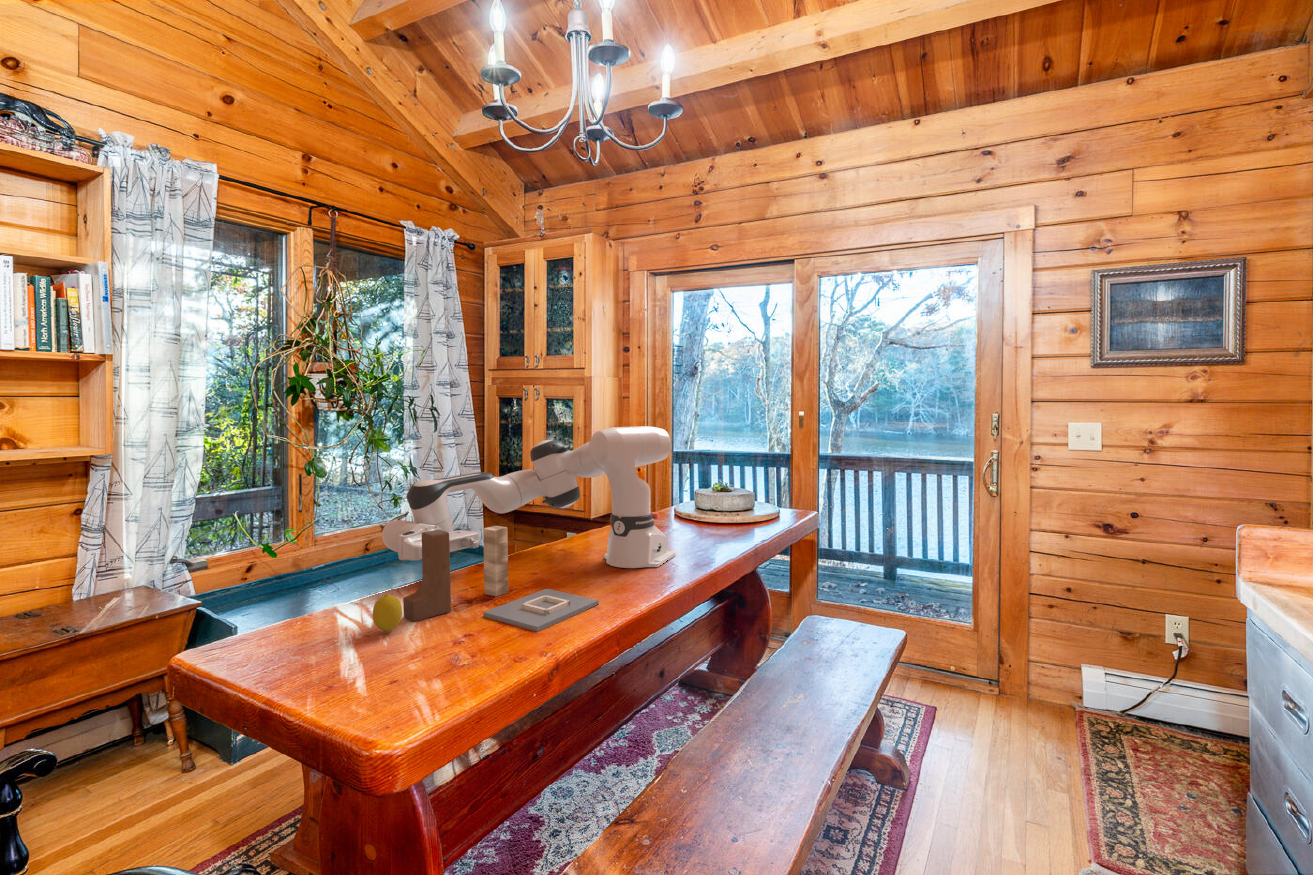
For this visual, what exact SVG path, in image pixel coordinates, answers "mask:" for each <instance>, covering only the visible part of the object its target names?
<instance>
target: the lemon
mask: <svg viewBox="0 0 1313 875" xmlns="http://www.w3.org/2000/svg"><path fill="white" fill-rule="evenodd" d="M402 617H403V607H402V604H401V601H400V600H399V599H398V598H397V597H396V596H394V595H392V594H389V593H385V594H383V596H381V597H379V598H378V599H377V600H376V601H375V602H374V605H373V609H372V621H373V623H374V625H375V627H376V628H378V629H379V630H382V631H384V632H385V633H387V634H388V633H390V632H391V631H392V630H394V629H395V628H396V627H398V625H399V624H400V622H402V621H401V620H402V619H403V618H402Z"/></svg>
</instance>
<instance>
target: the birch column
mask: <svg viewBox="0 0 1313 875" xmlns="http://www.w3.org/2000/svg"><path fill="white" fill-rule="evenodd" d="M508 534H509V533H508V527H507V526H500V525H492V526H489V527H483V575H484V576H483V577H484V578H483V581H484V582H483V584H484V585H483V586H484V588H483V589H484V590H483V591H484V595H488V596H492V597H500V596H502V595H504V594H508V593H509V546H508V544H509V542H508V540H509V538H508Z"/></svg>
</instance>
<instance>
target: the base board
mask: <svg viewBox="0 0 1313 875" xmlns="http://www.w3.org/2000/svg"><path fill="white" fill-rule="evenodd" d="M599 603H600V602H599V599H595V598H594V599H593V598H590V597H585V596H581V595H577V594H572V593H567V592H563V591H559V590H555V589H550V588H544V589H542V590H539V591H537V592H533V593H531V594H528V595H526V596H523V597H520V598H517V599H514V600H512V601H509V602H507V603H504V604H501V605H498V606H496V607H493V608H491V609H488V610H486V611H483V612H482V614H483V617H484V618H488V619H490V620H495V621H499V622H501V623H505V624H509V625H512V626H516V627H519V628H523V629H526V630H530V631H533V632H536V633H537V632H539V631H542V630H544V629H547V628H549V627H551V626H554V625H556V624H559V623H560V622H563V621H564V620H567V619H569V618H571V617H574V616H576V615H579V614H581V613H582V612H585V611H588V610H590V609H592V608H594V607H596V606H595V605H597V604H599ZM593 606H594V607H593ZM597 606H598V605H597ZM591 607H592V608H591ZM589 608H590V609H589ZM587 609H588V610H587Z"/></svg>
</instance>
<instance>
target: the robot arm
mask: <svg viewBox="0 0 1313 875" xmlns="http://www.w3.org/2000/svg"><path fill="white" fill-rule="evenodd" d="M671 441H672V440H671V436H670V434H669V433H668V432H667V431H666V430H665V429H664V428H662V427H661V428H660V427H656V426H651V425H650V426H649V425H643V426H641V425H639V426H616V427H615V426H613V427H608V428H603V429H599V430H597V431H595V432H594V433H593V434H592V435H591V437H590V439H589V441H587V442H586V443H584V444H582V445H580V446H578V447H576V448H575V449H573V450H570V449H568V448H569V447H570V446H569V445H568V444H564V443H563V442H561V441H560V440H557V439H546V440H545V439H544V440H542V441H540V442H538V443H536V444H535V445H534V446H533V447H532V448H531V449H530V451H529V456H530V460H531V461H530V462H532V465H533V469H534V470H533V469H528V468H526V469H522V470H518V471H513V472H510V473H507V474H505V475H502V476H494V475H493V473H491V472H485V471H482V472H480V471H479V472H471V473H466V474H459V475H453V476H448V477H443V478H442V477H441V478H435V479H423V480H420V481H417V482H415V483H413V484H412V485H410V487H409V489H408V491H407V494H406V500H407V503H408V505H409V508H410V509H411V510H410V511H411V513H412V518H413V521H412V520H411V521H410V520H403V519H400V520H397V519H396V520H390V521H388V522H387V523H386V524H385V526H384V527H383V529H382V532H381V536H382V542H383V544H384V546H385V547H387V548H388V549H390V550H391V551H393V552H396V553H397V555H398V560H400V561H412V562H414V561H416V562H417V561H422V533H423V532H428V531H434V530H442V531H446V532H449V542H450V553H452V552H457V551H461V550H464V549H477V548H479V545H480V541H479V539H480V537H479V532H477V531H474V530H473V531H472V530H465V529H463V530H461V529H459V530H454V524H453V521H452V514H451V513H450V509H449V504H448V501H447V496H448V494H449V493H455V492H459V491H466V490H471V489H472V490H473V492H474V493H475V494H476V495H477V497H478V498H479V500H480V501H481V503H482V504H483V505H484V506H485V507H487V509H489V510H490V511H492V512H494V513H496V514H506V513H509V512H512V511H515V510H517V509H519V508H522V507H523V506H525V505H526V504H528V503H530V502H532V501H533V500H535V499H538V498H540V497H542V498H544V499H543V500H542V501H541V503H542V504H547V506H549V507H551V508H553V509H566V508H569V507H571V506H573V505H574V504H575V503H576V502H577V501H578V500H579V499H580V498H581V490H580V486H578V482H577V478H576V477H579V478H585V479H586V478H587V479H588V478H596V477H600V476H603V475H604V476H605V475H606V477H607V479H608V483H609V484H610V485H609V486H610V492H611V493H610V494H611V513H610V517H609V521H610V522H609V523H610V524H609V526H610V527H611V528H610V530H608V534H607V535H608V536H607V548H606V553H604V556H603V557H604V559H605V560H606V561H605V562H606V564H607V565H609V566H611V567H616V568H622V569H623V568H624V569H640V568H658V567H661V566H662V565H664V564H665V563H666V561H667V560H668V561H670V560H672V559H673V558H674V557H676V555H677V554H676V551H674V550H672V549H669V547H668V538H667V536H666V534H665V533H663V532H662V531H661V529H659V528H658V527H657V526H656V525H655V520H657V521H658V519H659V518H660V513H659V512H654V511H651V492H652V490H651V487H650V485H649V483H648V482H646V481H645V480H644V479H642V478H640V476H638V474H637V469H636V468H638V467H643V466H648V465H651V464H654V463H659V462H661V461H664V460H666V459H667V458H668V457H669V455H670V453H671V450H672V442H671ZM668 561H667V562H668ZM663 563H664V564H663ZM660 565H661V566H660Z"/></svg>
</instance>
